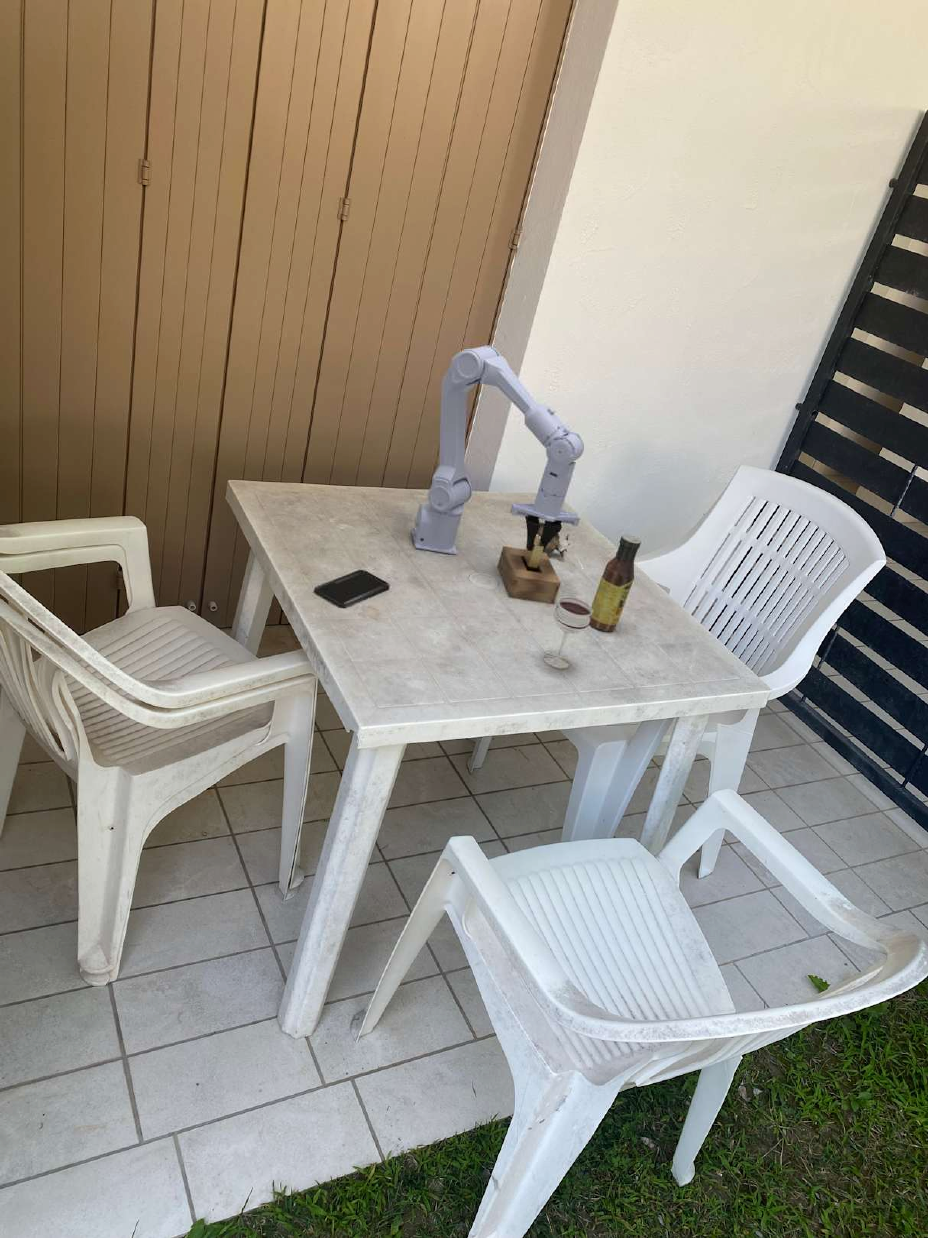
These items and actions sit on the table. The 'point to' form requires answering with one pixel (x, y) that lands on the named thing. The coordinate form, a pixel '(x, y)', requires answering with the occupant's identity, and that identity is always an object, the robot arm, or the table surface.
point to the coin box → (528, 576)
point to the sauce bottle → (615, 585)
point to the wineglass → (568, 624)
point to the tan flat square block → (534, 553)
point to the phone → (351, 588)
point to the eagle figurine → (554, 542)
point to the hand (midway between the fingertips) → (534, 549)
